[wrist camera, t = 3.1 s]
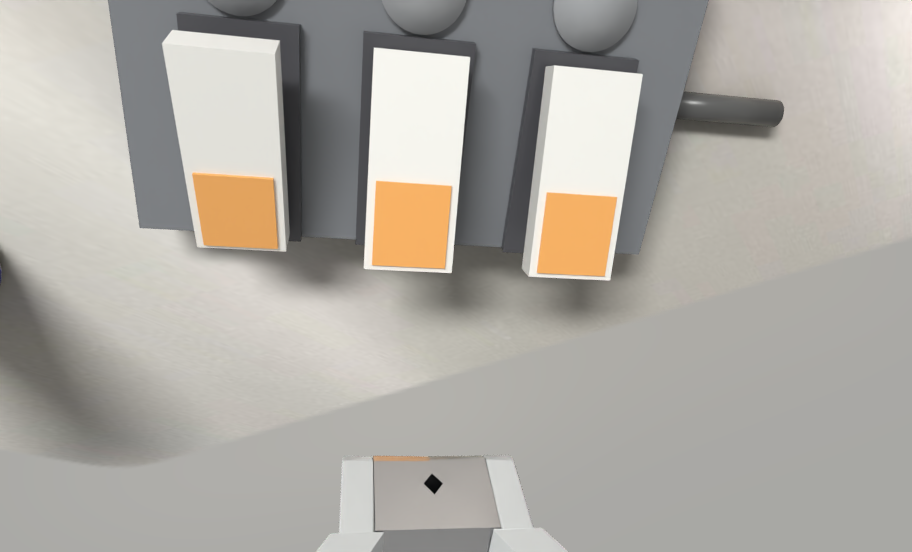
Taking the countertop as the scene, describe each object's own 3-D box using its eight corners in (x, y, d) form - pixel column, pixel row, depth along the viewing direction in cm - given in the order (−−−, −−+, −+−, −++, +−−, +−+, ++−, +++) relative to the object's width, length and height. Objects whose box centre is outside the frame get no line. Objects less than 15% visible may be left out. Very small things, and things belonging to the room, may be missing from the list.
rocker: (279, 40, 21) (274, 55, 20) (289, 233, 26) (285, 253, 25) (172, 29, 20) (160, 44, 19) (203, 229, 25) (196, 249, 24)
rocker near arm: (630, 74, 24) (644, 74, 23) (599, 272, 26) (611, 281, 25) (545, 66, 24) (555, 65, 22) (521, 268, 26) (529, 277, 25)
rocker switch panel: (820, -42, 27) (895, -39, 23) (725, 234, 33) (772, 274, 29) (121, -135, 22) (68, -151, 19) (161, 201, 28) (127, 242, 25)
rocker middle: (465, 58, 23) (470, 56, 22) (448, 264, 25) (451, 273, 24) (373, 49, 23) (373, 47, 21) (363, 260, 25) (363, 269, 24)
